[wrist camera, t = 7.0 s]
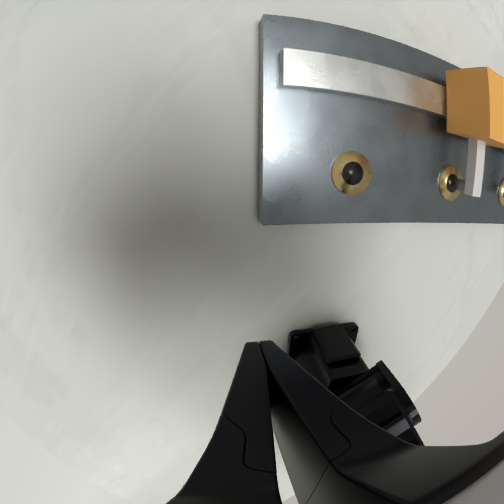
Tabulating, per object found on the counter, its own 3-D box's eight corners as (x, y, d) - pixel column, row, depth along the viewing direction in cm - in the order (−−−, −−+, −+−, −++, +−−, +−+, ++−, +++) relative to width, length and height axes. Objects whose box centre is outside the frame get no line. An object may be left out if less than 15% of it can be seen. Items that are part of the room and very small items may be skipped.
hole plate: (506, 220, 24) (547, 240, 18) (258, 218, 20) (282, 258, 14) (515, 106, 19) (559, 112, 12) (259, 22, 15) (284, -25, 8)
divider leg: (477, 192, 20) (519, 209, 15) (435, 187, 19) (483, 205, 14) (481, 91, 16) (525, 93, 11) (438, 71, 15) (487, 66, 10)
